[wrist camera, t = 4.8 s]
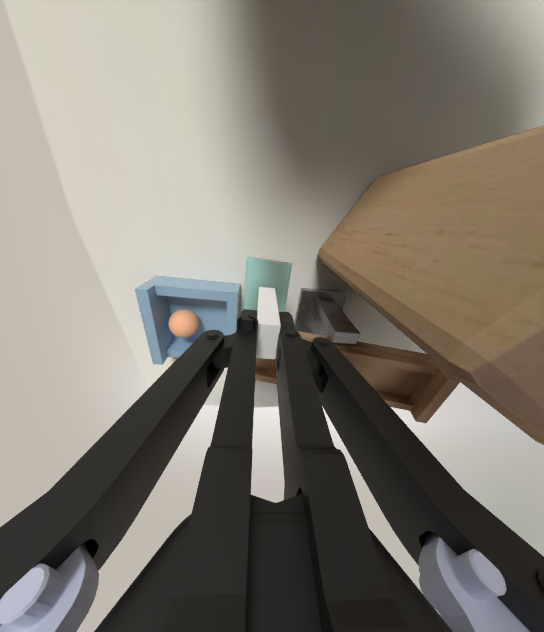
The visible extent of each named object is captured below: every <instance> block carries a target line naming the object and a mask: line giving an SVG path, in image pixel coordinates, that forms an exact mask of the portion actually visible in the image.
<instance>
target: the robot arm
mask: <svg viewBox="0 0 544 632" xmlns="http://www.w3.org/2000/svg"><path fill="white" fill-rule="evenodd" d="M256 358H263V359H275V358H277V359H276V365H275V371H274V373H276V376H277V389H278V402H279V415H280V426H281V440H282V453H283V466H284V478H285V489H284V501H281V502H278V503H273V502H270V501H267V500H265V499H261V498H259V497H256V496H253V495H250V493H251V470H252V433H253V411H254V391H255V369H256ZM226 367H228V370H227V375H226V379H225V384H224V388H223V393H222V397H221V402H220V406H219V411H218V415H217V420H216V424H215V429H214V433H213V438H212V442H211V446H210V447H209V448H208V450H207V452H206V456H205V460H204V464H203V468H202V472H201V477H200V481H199V485H198V489H197V493H196V498H195V502H194V506H193V510H192V514H191V515H189V516H188V517H187V518H186V519H185V520H183V521H182V522H181V524H180V525H179V526H178V527H177V528H176V529H175V530H174V531H173V532H172V534H171V535H170V536H169V537H168V538H167V540H166V541H165V542H164V544H163V545H162V546H161V547H160V548H159V550H158V551H157V552H156V554H155V555H154V556H153V557H152V559H151V560H150V561H149V563H148V564H147V565H146V566H145V568H144V569H143V570H142V571H141V573H140V574H139V575H138V577H137V578H136V579H135V580H134V582H133V583H132V584H131V585H130V587H129V588H128V589H127V591H126V592H125V593H124V594H123V596H122V597H121V598H120V599H119V601H118V602H117V603H116V605H115V606H114V607H113V608H112V610H111V611H110V612H109V613H108V615H107V616H106V617H105V619H104V620H103V621H102V623H101V624H100V625H99V626H98V627H97V629H96V630H95V631H94V632H544V557H543V556H542V555H541V554H540V553H538V552H537V551H536V550H535V549H534V548H533V547H531V546H530V545H529V544H528V543H527V542H525V541H524V540H523V539H522V538H521V537H520V536H518V535H517V534H516V533H515V532H514V531H512V530H511V529H510V528H509V527H507V526H506V525H505V524H504V523H503V522H502V521H500V520H499V519H498V518H497V517H495V515H493V514H492V513H491V512H490V511H488V510H487V509H486V508H485V507H484V506H482V505H481V504H480V503H479V502H478V501H477V500H475V499H474V498H473V497H472V496H471V495H469V494H468V493H467V492H466V491H465V490H464V489H463V488H462V487H461V486H460V485H459V484H458V483H457V482H456V480H455V479H454V478H453V477H452V476H451V475H450V474H449V472H448V471H447V470H446V469H445V468H444V467H443V466H442V465H441V464H440V462H439V461H438V460H437V459H436V458H435V457H434V456H433V455H432V454H431V452H430V451H429V450H428V449H427V448H426V447H425V446H424V444H423V443H422V442H421V441H420V440H419V439H418V438H417V437H416V436H415V434H414V433H413V432H412V431H411V430H410V429H409V428H408V427H407V425H406V424H405V423H404V422H403V421H402V420H401V419H400V418H399V416H398V415H397V414H396V413H395V412H394V411H393V410H392V409H391V408H390V406H389V405H388V404H387V403H386V402H385V401H384V400H383V399H382V397H381V396H380V395H379V394H378V393H377V392H376V391H375V390H374V388H373V387H372V386H371V385H370V384H369V383H368V382H367V381H366V380H365V378H364V377H363V376H362V375H361V374H360V373H359V372H358V371H357V369H356V368H355V367H354V366H353V365H352V364H351V363H350V362H349V360H348V359H347V358H346V357H345V356H344V355H343V354H342V353H341V352H340V350H339V349H338V348H337V347H336V346H335V345H334V344H333V343H332V342H331V341H330V340H329V339H327V338H323V337H316V338H314V339H313V341H308V340H305V339H303V338H301V335H300V333H299V332H297V331H296V329H295V325H294V322H293V318H292V315H291V314H290V313H289V312H279V311H278V305H277V298H276V292H275V288H267V287H259V294H258V305H257V310H249V309H245V310H243V311H242V313H241V316H240V317H238V318H237V327H236V332H235V333H233V334H231V335H224V334H223V333H222V332H221V331H219V330H208V331H205V332H204V333H202V334H201V335H200V336H199V337H198V338H197V339H196V340H195V342H194V343H193V344H192V345H191V346H190V347H189V348H188V349H187V350H186V351H185V352H184V353H183V354H182V355H181V356H180V357H179V358H178V359H177V360H176V361H175V362H174V363H173V364H172V365H171V366H170V367H169V368H168V369H167V370H166V371H165V372H164V373H163V374H162V375H161V376H160V377H159V378H158V379H157V380H156V382H155V383H154V384H153V385H152V386H151V387H150V388H149V389H148V390H147V391H146V392H145V393H144V394H143V395H142V396H141V397H140V398H139V399H138V400H137V401H136V402H135V403H134V404H133V405H132V406H131V407H130V408H129V409H128V410H127V411H126V412H125V413H124V414H123V415H122V417H120V419H118V420H117V422H116V423H115V424H114V425H113V426H112V427H111V428H110V429H109V430H108V431H107V432H106V433H105V434H104V435H103V436H102V437H101V438H100V439H99V440H98V441H97V442H96V443H95V444H94V445H93V446H92V447H91V448H90V449H89V450H88V451H87V452H86V453H85V454H84V455H83V456H82V458H80V459H79V460H78V462H77V463H76V464H75V465H74V466H73V467H72V468H71V469H70V470H69V471H68V472H67V473H66V474H65V475H64V476H63V477H62V478H61V479H60V480H59V481H58V482H57V483H56V484H55V485H54V486H53V487H52V488H51V489H50V490H49V491H48V492H47V493H46V494H44V495H43V496H42V497H40V498H39V499H38V500H36V501H35V502H34V503H32V504H31V505H30V506H28V507H27V508H25V509H24V510H23V511H22V512H20V513H19V514H17V515H16V516H15V517H14V518H12V519H11V520H9V521H8V522H7V523H5V524H4V525H3V526H1V527H0V632H76V631H77V630H78V628H79V626H80V625H81V623H82V622H83V620H84V618H85V617H86V615H87V614H88V612H89V609H90V607H91V605H92V603H93V601H94V598H95V595H96V591H97V587H98V580H99V573H98V570H99V569H100V568H101V567H102V566H103V564H104V563H105V562H106V560H107V559H108V558H109V556H110V555H111V553H112V552H113V551H114V549H115V548H116V547H117V545H118V544H119V542H120V541H121V540H122V538H123V537H124V535H125V534H126V532H127V530H128V529H129V527H130V526H131V524H132V523H133V521H134V520H135V518H136V516H137V515H138V513H139V511H140V510H141V508H142V506H143V505H144V503H145V501H146V500H147V498H148V496H149V495H150V493H151V491H152V490H153V488H154V486H155V485H156V483H157V481H158V480H159V478H160V476H161V475H162V473H163V471H164V470H165V468H166V466H167V465H168V463H169V461H170V459H171V458H172V456H173V455H174V453H175V451H176V450H177V448H178V446H179V445H180V443H181V441H182V439H183V438H184V436H185V434H186V433H187V431H188V429H189V428H190V426H191V424H192V423H193V421H194V419H195V418H196V416H197V414H198V413H199V411H200V409H201V408H202V406H203V404H204V403H205V401H206V399H207V398H208V396H209V394H210V393H211V391H212V389H213V388H214V386H215V384H216V383H217V381H218V379H219V378H220V376H221V374H222V373H223V371H224V368H226ZM321 404H322V405H321ZM322 406H323V408H324V409H325V411H326V413H327V415H328V416H329V418H330V420H331V422H332V423H333V425H334V427H335V429H336V431H337V432H338V434H339V436H340V438H341V439H342V441H343V443H344V445H345V446H346V448H347V450H348V452H349V454H350V455H351V457H352V459H353V461H354V463H355V464H356V466H357V468H358V470H359V471H360V473H361V475H362V477H363V479H364V480H365V482H366V484H367V485H368V487H369V489H370V491H371V493H372V494H373V496H374V498H375V500H376V502H377V503H378V505H379V507H380V509H381V511H382V512H383V514H384V516H385V517H386V519H387V521H388V522H389V524H390V526H391V527H392V529H393V531H394V532H395V534H396V535H397V536H398V538H399V539H400V541H401V542H402V544H403V545H404V547H405V548H406V549H407V551H408V553H409V554H410V555H411V557H412V558H413V559H414V560H415V562H416V563H417V564H418V565H419V572H420V578H419V583H420V587H421V591H422V592H423V594H422V593H421V592H420V590H419V589H418V588H417V587H416V585H415V584H414V583H413V582H412V580H411V579H410V578H409V577H408V576H407V574H406V573H405V572H404V571H403V569H402V568H401V567H400V566H399V564H398V563H397V562H396V561H395V560H394V558H393V557H392V556H391V555H390V553H389V552H388V551H387V550H386V548H385V547H384V546H383V545H382V544H381V542H380V541H379V540H378V539H377V537H376V536H375V535H374V534H373V533H372V531H371V530H370V529H369V528H368V525H367V522H366V519H365V516H364V513H363V510H362V507H361V504H360V501H359V498H358V495H357V492H356V489H355V486H354V483H353V480H352V477H351V474H350V471H349V468H348V465H347V462H346V459H345V457H344V454H343V453H342V452H341V450H338V449H336V448H335V447H334V445H333V442H332V438H331V435H330V432H329V428H328V425H327V422H326V418H325V415H324V412H323V408H322ZM434 608H435V609H436V610H438V612H439V613H440V615H441V616H440V615H439V614H438V613H437V611H436V610H435V609H434ZM442 618H443V619H442Z"/></svg>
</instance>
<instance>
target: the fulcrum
mask: <svg viewBox="0 0 544 632" xmlns="http://www.w3.org/2000/svg"><path fill="white" fill-rule="evenodd" d="M346 296H347V294H346V293H345V292H338V291H327V290H317V289H307V288H301V291H300V296H299V302H298V307H297V312H296V317H295V322H294V325H295V329H296V331H300V332H305V333H311V334H317V335H322V336H328V337H330V339H331V341H332V342H333V343H347V344H356V343H357V341H358V338H359V336H360V333H359V332H358V330H357V329H356V328H355V326H354V325H353V324H352V323H351V321H350V320H349V319H348V318H347V316H346V315H345V314H344V312H343V311H342V308H343V305H344V302H345V299H346Z"/></svg>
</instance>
